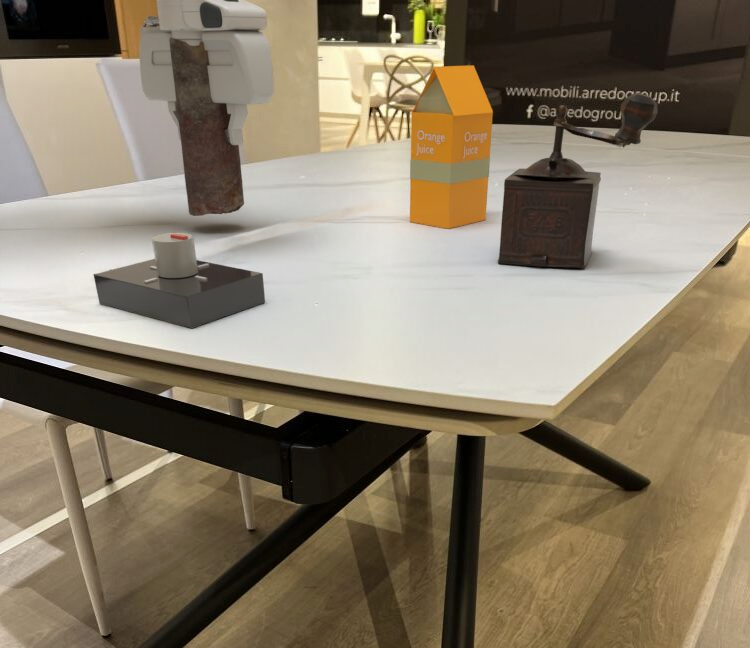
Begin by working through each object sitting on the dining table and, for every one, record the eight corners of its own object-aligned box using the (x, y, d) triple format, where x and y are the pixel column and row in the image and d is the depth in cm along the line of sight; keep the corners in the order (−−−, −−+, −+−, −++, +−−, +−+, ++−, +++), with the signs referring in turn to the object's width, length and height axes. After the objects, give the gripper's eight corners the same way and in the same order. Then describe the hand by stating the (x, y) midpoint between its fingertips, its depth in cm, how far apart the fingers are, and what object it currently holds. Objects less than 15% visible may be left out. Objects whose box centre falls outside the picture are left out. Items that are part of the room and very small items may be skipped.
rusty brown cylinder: (209, 207, 103) (190, 38, 93) (255, 210, 101) (241, 37, 91) (178, 216, 97) (153, 37, 87) (226, 219, 95) (207, 35, 85)
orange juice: (408, 221, 110) (411, 66, 100) (447, 213, 116) (452, 65, 105) (449, 229, 106) (456, 67, 95) (487, 220, 111) (497, 65, 101)
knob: (149, 274, 74) (142, 235, 72) (179, 266, 77) (174, 228, 75) (175, 280, 72) (169, 240, 70) (206, 271, 75) (201, 232, 73)
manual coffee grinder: (493, 265, 88) (506, 93, 79) (510, 244, 97) (523, 87, 88) (629, 275, 84) (660, 94, 74) (633, 253, 93) (661, 88, 83)
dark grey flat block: (99, 303, 76) (92, 272, 75) (174, 281, 83) (169, 253, 82) (191, 328, 69) (187, 294, 68) (265, 302, 76) (262, 271, 74)
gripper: (118, 15, 91) (138, 140, 98) (238, 10, 80) (250, 150, 88) (159, 16, 95) (175, 136, 102) (277, 11, 85) (286, 144, 92)
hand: (211, 142), depth 95 cm, fingers closed on rusty brown cylinder, 7 cm apart
